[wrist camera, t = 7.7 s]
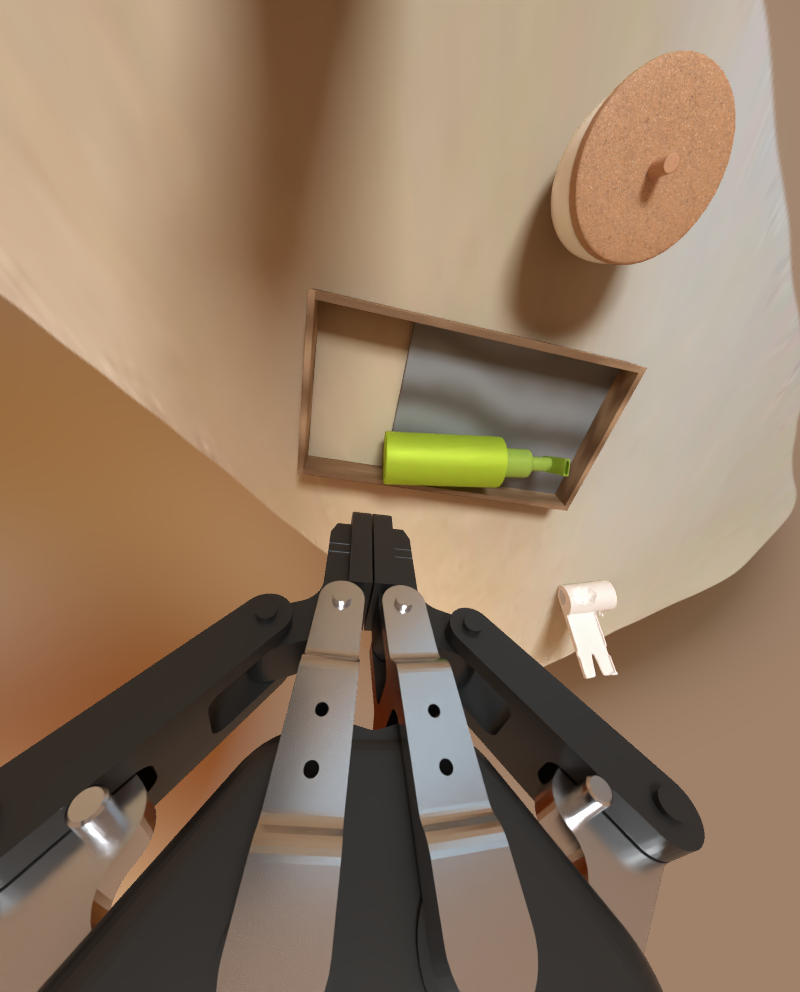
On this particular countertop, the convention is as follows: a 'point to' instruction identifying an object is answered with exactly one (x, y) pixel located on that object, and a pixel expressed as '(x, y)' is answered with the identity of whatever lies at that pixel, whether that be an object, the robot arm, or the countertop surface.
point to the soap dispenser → (459, 460)
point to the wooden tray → (489, 401)
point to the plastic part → (588, 622)
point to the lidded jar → (645, 161)
